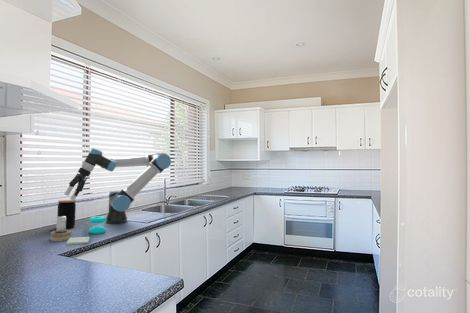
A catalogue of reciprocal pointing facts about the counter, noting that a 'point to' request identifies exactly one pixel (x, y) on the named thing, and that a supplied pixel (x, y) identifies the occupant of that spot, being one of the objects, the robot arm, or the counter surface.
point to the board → (78, 240)
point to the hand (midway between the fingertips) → (69, 197)
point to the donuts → (97, 228)
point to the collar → (60, 236)
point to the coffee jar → (67, 211)
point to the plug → (61, 224)
